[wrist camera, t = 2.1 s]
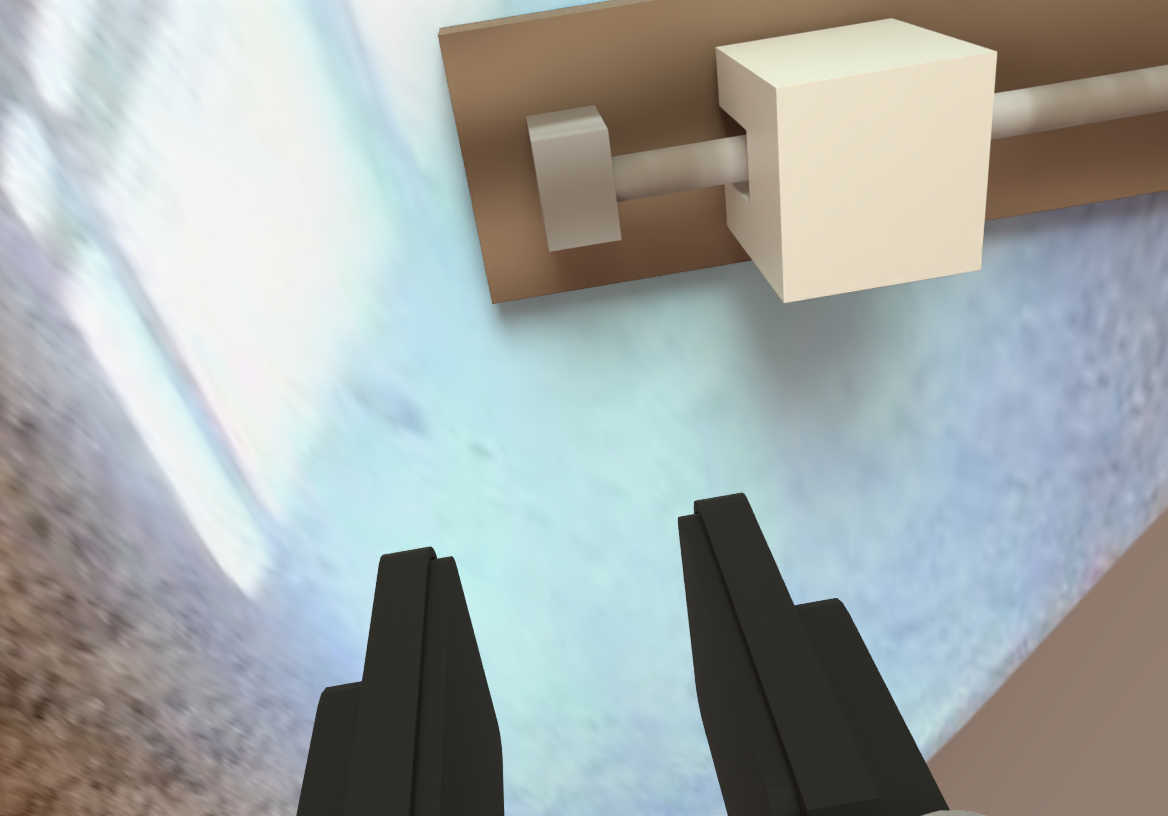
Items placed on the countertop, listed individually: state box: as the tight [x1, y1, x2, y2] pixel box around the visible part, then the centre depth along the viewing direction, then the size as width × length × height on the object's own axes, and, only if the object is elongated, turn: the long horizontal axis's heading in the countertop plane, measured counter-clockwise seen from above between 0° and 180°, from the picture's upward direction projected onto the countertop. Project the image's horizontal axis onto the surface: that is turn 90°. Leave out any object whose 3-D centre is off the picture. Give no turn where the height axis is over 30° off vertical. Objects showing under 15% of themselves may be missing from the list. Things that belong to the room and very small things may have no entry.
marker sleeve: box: [715, 18, 997, 303], centre depth 25 cm, size 5×5×6 cm
